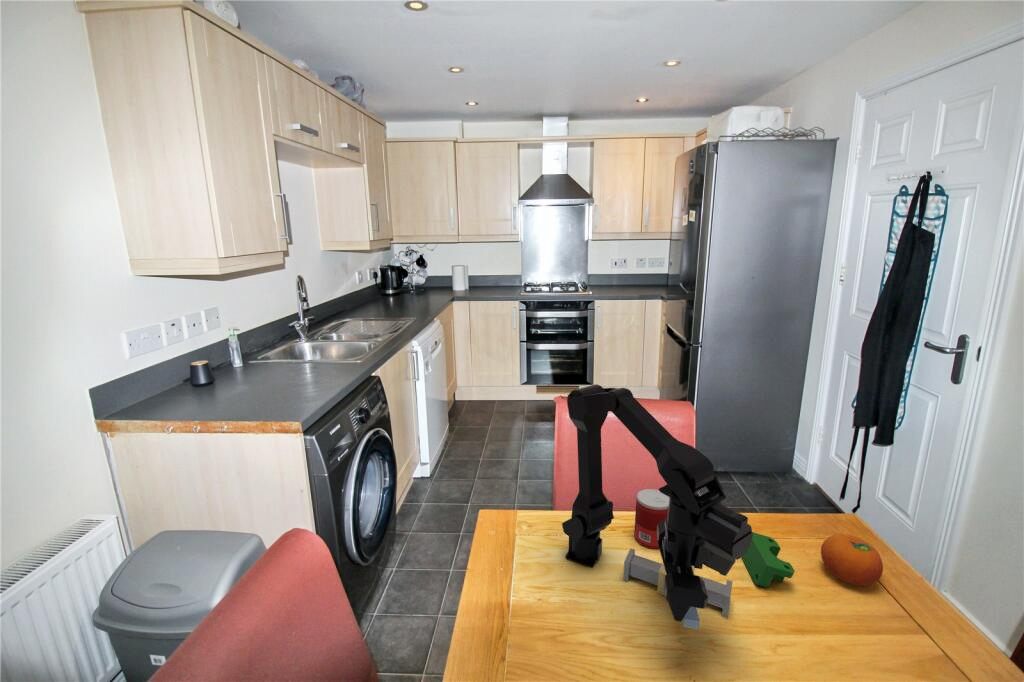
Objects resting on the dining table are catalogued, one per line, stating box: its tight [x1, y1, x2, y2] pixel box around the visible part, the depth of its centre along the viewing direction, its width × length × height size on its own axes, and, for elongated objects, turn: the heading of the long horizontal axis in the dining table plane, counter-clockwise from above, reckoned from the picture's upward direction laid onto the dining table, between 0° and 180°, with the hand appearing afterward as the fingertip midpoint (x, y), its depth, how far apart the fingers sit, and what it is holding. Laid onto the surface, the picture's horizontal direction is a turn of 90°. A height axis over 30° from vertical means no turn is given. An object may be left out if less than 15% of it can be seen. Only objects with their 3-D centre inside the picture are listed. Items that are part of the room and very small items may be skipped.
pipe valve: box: [622, 548, 733, 618], centre depth 94 cm, size 20×5×5 cm, turn 61°
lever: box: [682, 607, 701, 630], centre depth 87 cm, size 4×17×2 cm, turn 170°
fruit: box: [820, 533, 884, 586], centre depth 98 cm, size 11×10×8 cm
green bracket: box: [741, 531, 795, 588], centre depth 99 cm, size 12×6×9 cm, turn 166°
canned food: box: [633, 488, 669, 550], centre depth 109 cm, size 8×8×11 cm
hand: (674, 600), depth 85 cm, fingers open, 9 cm apart
